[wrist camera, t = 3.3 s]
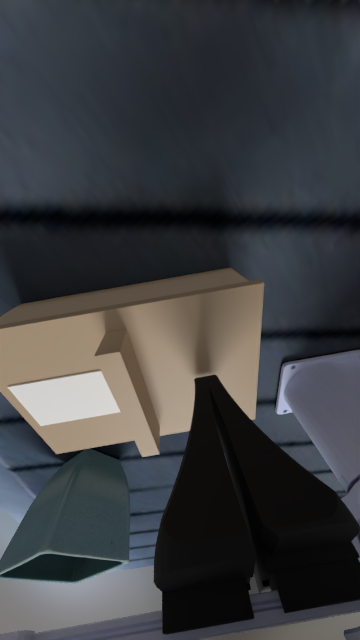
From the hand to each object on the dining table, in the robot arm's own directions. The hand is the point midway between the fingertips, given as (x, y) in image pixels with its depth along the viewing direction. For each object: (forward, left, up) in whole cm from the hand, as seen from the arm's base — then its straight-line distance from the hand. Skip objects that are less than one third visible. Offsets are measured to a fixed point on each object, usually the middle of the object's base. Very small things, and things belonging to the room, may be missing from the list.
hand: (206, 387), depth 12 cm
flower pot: (+15, +17, -6) cm, 24 cm away
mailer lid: (+4, 0, -2) cm, 5 cm away
